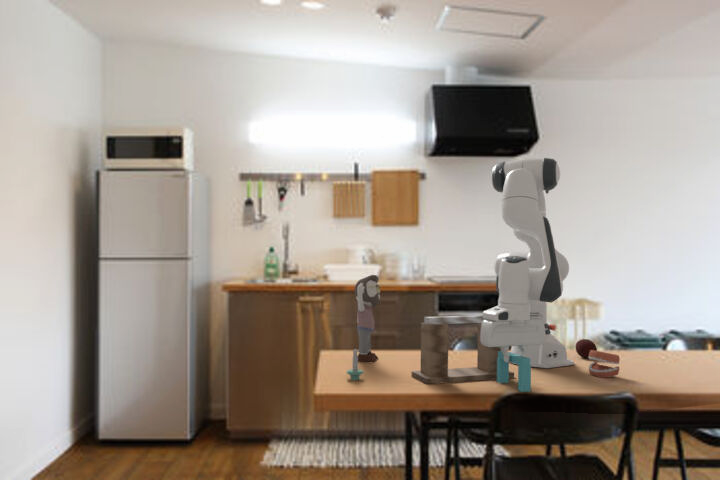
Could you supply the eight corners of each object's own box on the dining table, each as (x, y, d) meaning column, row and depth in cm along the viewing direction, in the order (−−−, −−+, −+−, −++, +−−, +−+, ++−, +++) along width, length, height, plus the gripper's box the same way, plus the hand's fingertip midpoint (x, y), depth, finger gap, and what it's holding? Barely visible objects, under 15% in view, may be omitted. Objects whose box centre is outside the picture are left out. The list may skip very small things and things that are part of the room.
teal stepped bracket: (505, 381, 153) (505, 350, 153) (530, 391, 142) (531, 358, 143) (496, 381, 152) (497, 351, 152) (521, 391, 141) (522, 358, 142)
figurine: (373, 367, 169) (375, 275, 170) (345, 365, 171) (347, 275, 172) (382, 356, 187) (383, 274, 188) (356, 355, 189) (358, 273, 190)
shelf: (495, 370, 167) (495, 313, 168) (514, 377, 158) (514, 317, 159) (411, 376, 157) (412, 315, 158) (426, 384, 148) (427, 319, 148)
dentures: (581, 373, 165) (581, 348, 165) (595, 371, 169) (595, 347, 169) (606, 379, 158) (606, 353, 158) (620, 377, 161) (620, 351, 161)
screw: (351, 376, 155) (366, 378, 153) (343, 380, 151) (358, 382, 149) (351, 346, 156) (366, 348, 154) (343, 349, 151) (359, 350, 149)
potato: (584, 360, 187) (584, 341, 187) (570, 356, 194) (571, 337, 195) (601, 360, 189) (601, 340, 189) (587, 355, 196) (588, 337, 196)
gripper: (536, 311, 154) (536, 357, 154) (477, 312, 147) (477, 360, 147) (550, 313, 148) (550, 361, 148) (490, 314, 141) (489, 365, 141)
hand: (513, 361), depth 147 cm, fingers closed on teal stepped bracket, 2 cm apart
